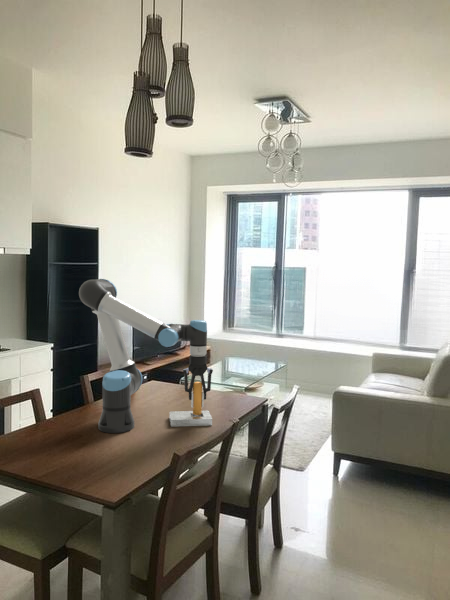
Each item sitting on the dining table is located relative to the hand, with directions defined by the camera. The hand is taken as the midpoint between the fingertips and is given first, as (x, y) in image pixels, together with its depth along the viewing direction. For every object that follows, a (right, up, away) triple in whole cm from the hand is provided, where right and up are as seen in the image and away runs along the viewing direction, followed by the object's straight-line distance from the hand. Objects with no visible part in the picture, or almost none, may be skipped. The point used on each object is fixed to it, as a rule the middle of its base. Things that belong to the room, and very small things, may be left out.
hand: (197, 406), depth 213 cm
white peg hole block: (-3, -7, 0) cm, 7 cm away
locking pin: (0, -3, 0) cm, 3 cm away
